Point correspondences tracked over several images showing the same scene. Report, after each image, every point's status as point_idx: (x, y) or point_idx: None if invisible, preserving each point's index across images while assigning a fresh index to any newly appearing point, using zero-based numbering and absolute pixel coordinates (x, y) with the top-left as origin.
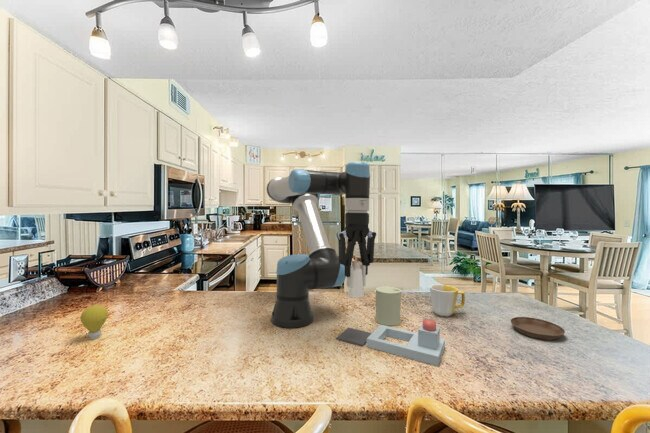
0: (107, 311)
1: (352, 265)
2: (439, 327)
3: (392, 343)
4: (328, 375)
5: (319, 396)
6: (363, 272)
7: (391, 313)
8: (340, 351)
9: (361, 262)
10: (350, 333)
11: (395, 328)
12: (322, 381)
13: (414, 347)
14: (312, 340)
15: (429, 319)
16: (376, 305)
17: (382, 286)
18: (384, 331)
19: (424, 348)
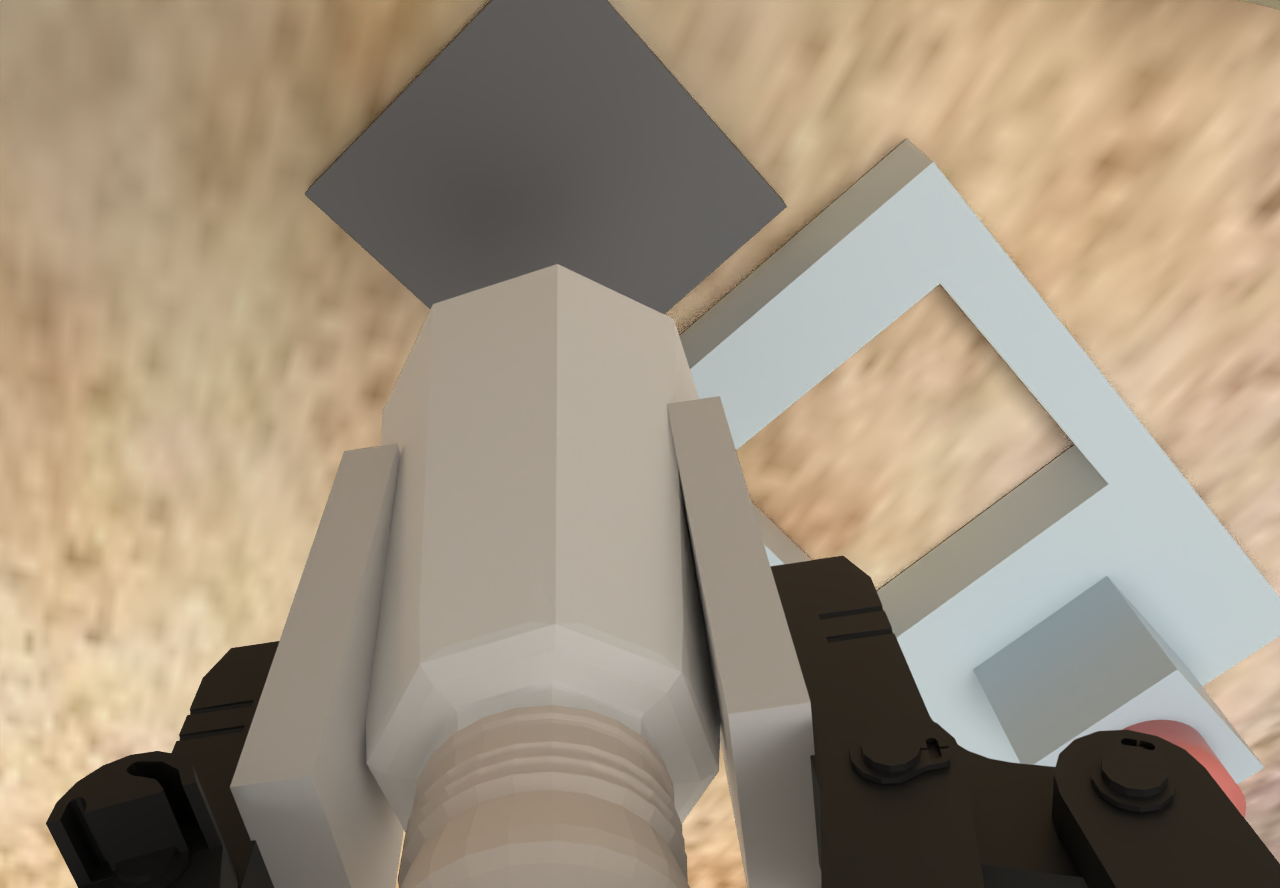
0: None
1: (405, 864)
2: (1259, 767)
3: None
4: (127, 722)
5: (43, 879)
6: (726, 764)
7: (1255, 3)
8: (298, 438)
9: (818, 775)
10: (512, 133)
11: (1033, 312)
12: (74, 769)
13: (920, 689)
14: (15, 139)
15: (1229, 781)
16: None
17: None
18: (870, 336)
19: (987, 716)
